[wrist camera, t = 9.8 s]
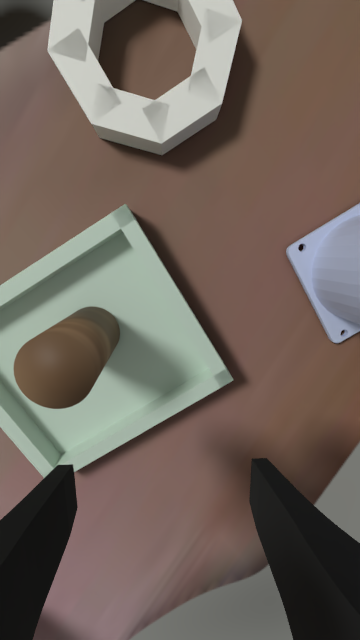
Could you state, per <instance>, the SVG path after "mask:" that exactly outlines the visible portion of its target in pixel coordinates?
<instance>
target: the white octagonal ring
mask: <svg viewBox="0 0 360 640" xmlns="http://www.w3.org/2000/svg"><path fill="white" fill-rule="evenodd" d="M134 1H135V0H54V2H53V10H52V18H51V26H50V34H49V42H48V50H47V51H48V53H49V54H50V56H51V58H52V59H53V61H54V63H55V65H56V66H57V68H58V70H59V71H60V73H61V75H62V76H63V78H64V80H65V81H66V83H67V84H68V86H69V88H70V89H71V91H72V93H73V94H74V96H75V98H76V99H77V101H78V103H79V104H80V106H81V108H82V109H83V111H84V113H85V114H86V116H87V118H88V119H89V121H90V123H91V124H92V126H93V128H94V129H95V131H96V133H97V134H98V136H99V138H102V139H106V140H109V141H113V142H116V143H120V144H123V145H127V146H131V147H134V148H138V149H141V150H145V151H148V152H152V153H156V154H159V155H163V154H165V153H166V152H168V151H169V150H171V149H172V148H174V147H175V146H177V145H178V144H180V143H182V142H183V141H185V140H186V139H188V138H189V137H191V136H192V135H194V134H195V133H197V132H198V131H200V130H201V129H203V128H204V127H206V126H207V125H209V124H210V123H212V122H213V121H215V120H216V119H217V116H218V114H219V111H220V108H221V105H222V102H223V97H224V93H225V89H226V85H227V81H228V77H229V72H230V68H231V64H232V60H233V56H234V52H235V48H236V43H237V39H238V35H239V31H240V27H241V23H242V20H241V17H240V15H239V13H238V11H237V9H236V6H235V4H234V2H233V0H143V1H147V2H150V3H153V4H156V5H159V6H162V7H165V8H168V9H171V10H174V11H177V12H178V14H179V16H180V18H181V20H182V22H183V24H184V26H185V28H186V30H187V32H188V34H189V36H190V38H191V40H192V42H193V44H194V46H195V48H196V55H195V59H194V64H193V69H192V73H191V76H190V77H189V78H187V79H186V80H184V81H183V82H181V83H180V84H178V85H177V86H175V87H174V88H172V89H171V90H169V91H168V92H167V93H165V94H164V95H162V96H161V97H159V98H158V99H156V100H152V99H148V98H145V97H142V96H138V95H135V94H132V93H128V92H125V91H121V90H118V89H115V88H113V87H112V85H111V83H110V82H109V80H108V78H107V76H106V75H105V73H104V71H103V69H102V68H101V66H100V64H99V62H98V59H99V53H100V46H101V40H102V34H103V27H104V23H105V22H106V21H107V20H109V19H110V18H112V17H113V16H114V15H116V14H117V13H119V12H120V11H121V10H123V9H124V8H126V7H127V6H128V5H130V4H131V3H133V2H134Z"/></svg>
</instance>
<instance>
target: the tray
mask: <svg viewBox="0 0 360 640" xmlns="http://www.w3.org/2000/svg"><path fill="white" fill-rule="evenodd" d="M90 306H94V307H100V308H103V309H105V310H107V311H108V312H110V313H111V314H112V315H113V316H114V317H115V319H116V320H117V322H118V325H119V328H120V338H119V342H118V344H117V346H116V347H115V349H114V351H113V353H112V354H111V356H110V358H109V360H108V361H107V363H106V365H105V367H104V368H103V370H102V372H101V374H100V375H99V377H98V379H97V381H96V382H95V384H94V386H93V388H92V389H91V391H90V393H89V394H88V395H87V397H86V398H85V399H84V400H82V401H81V402H80V403H78V404H76V405H74V406H72V407H69V408H64V409H51V408H46V407H43V406H40V405H38V404H36V403H34V402H32V401H31V400H30V399H28V398H27V397H26V396H25V395H24V394H23V393H22V391H21V390H20V389H19V387H18V385H17V383H16V380H15V377H14V361H15V358H16V355H17V353H18V351H19V350H20V348H21V347H22V346H23V345H24V344H25V343H26V342H28V341H29V340H31V339H32V338H34V337H36V336H37V335H39V334H40V333H42V332H44V331H45V330H47V329H49V328H50V327H52V326H53V325H55V324H57V323H58V322H60V321H62V320H63V319H65V318H66V317H68V316H70V315H71V314H73V313H75V312H76V311H78V310H80V309H82V308H84V307H90ZM232 381H233V378H232V376H231V374H230V372H229V371H228V369H227V367H226V365H225V364H224V362H223V360H222V359H221V357H220V355H219V354H218V352H217V350H216V349H215V347H214V346H213V344H212V342H211V341H210V339H209V337H208V336H207V334H206V333H205V331H204V329H203V328H202V326H201V324H200V323H199V321H198V319H197V318H196V316H195V315H194V313H193V311H192V310H191V308H190V306H189V305H188V303H187V301H186V300H185V298H184V297H183V295H182V293H181V292H180V290H179V288H178V287H177V285H176V283H175V282H174V280H173V279H172V277H171V275H170V274H169V272H168V270H167V269H166V267H165V265H164V264H163V262H162V261H161V259H160V257H159V256H158V254H157V252H156V251H155V249H154V248H153V246H152V244H151V243H150V241H149V239H148V238H147V236H146V234H145V233H144V231H143V230H142V228H141V226H140V225H139V223H138V221H137V220H136V218H135V216H134V215H133V213H132V212H131V210H130V209H129V207H128V206H127V205H126V204H124V205H123V206H121V207H120V208H118V209H117V210H115V211H114V212H112V213H111V214H109V215H108V216H106V217H105V218H103V219H101V220H100V221H98V222H97V223H95V224H94V225H92V226H91V227H89V228H88V229H86V230H85V231H83V232H82V233H80V234H78V235H77V236H75V237H74V238H72V239H71V240H69V241H68V242H66V243H65V244H63V245H62V246H60V247H59V248H57V249H55V250H54V251H52V252H51V253H49V254H48V255H46V256H45V257H43V258H42V259H40V260H39V261H37V262H36V263H34V264H32V265H31V266H29V267H28V268H26V269H25V270H23V271H22V272H20V273H19V274H17V275H16V276H14V277H12V278H11V279H9V280H8V281H6V282H5V283H3V284H2V285H0V427H1V428H2V429H3V431H4V432H5V433H6V434H7V435H8V436H9V438H10V439H11V440H12V441H13V442H14V443H15V445H16V446H17V447H18V448H19V449H20V450H21V452H22V453H23V454H24V455H25V456H26V457H27V458H28V460H29V461H30V462H31V463H32V464H33V465H34V467H35V468H36V469H37V470H38V471H39V472H40V474H41V475H42V476H43V477H44V478H45V477H46V476H47V475H48V474H49V473H50V472H51V471H52V470H53V469H54V468H55V467H56V466H57V465H69V464H73V468H74V472H75V471H77V470H79V469H80V468H82V467H84V466H86V465H87V464H89V463H91V462H93V461H94V460H96V459H98V458H100V457H101V456H103V455H105V454H106V453H108V452H110V451H112V450H113V449H115V448H117V447H119V446H120V445H122V444H124V443H126V442H127V441H129V440H131V439H133V438H134V437H136V436H138V435H139V434H141V433H143V432H145V431H146V430H148V429H150V428H152V427H153V426H155V425H157V424H159V423H160V422H162V421H164V420H166V419H167V418H169V417H171V416H172V415H174V414H176V413H178V412H179V411H181V410H183V409H185V408H186V407H188V406H190V405H192V404H193V403H195V402H197V401H199V400H200V399H202V398H204V397H206V396H207V395H209V394H211V393H212V392H214V391H216V390H218V389H219V388H221V387H223V386H225V385H226V384H228V383H230V382H232Z"/></svg>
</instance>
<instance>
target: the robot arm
mask: <svg viewBox="0 0 360 640" xmlns="http://www.w3.org/2000/svg"><path fill="white" fill-rule="evenodd" d="M300 244H302V245H303V250H302V251H299V249H298V247H299V245H300ZM286 254H287V257H288V259H289V261H290V263H291V265H292V267H293V269H294V271H295V273H296V275H297V276H298V278H299V280H300V282H301V284H302V286H303V288H304V290H305V292H306V294H307V296H308V298H309V300H310V302H311V304H312V306H313V308H314V310H315V312H316V314H317V316H318V318H319V320H320V322H321V324H322V326H323V328H324V330H325V332H326V334H327V336H328V338H329V339H330V341H332V342H334V343H340V342H342V341H343V340H345V339H347V338H349V337H350V336H352V335H354V334H356V333H357V332H359V331H360V203H359V204H357V205H356V206H354V207H352V208H351V209H349V210H347V211H346V212H344V213H342V214H341V215H339V216H337V217H336V218H334V219H333V220H331V221H329V222H328V223H326V224H324V225H323V226H321V227H319V228H318V229H316V230H314V231H313V232H311V233H309V234H308V235H306V236H305V237H303V238H301V239H300V240H298V241H296V242H295V243H293V244H291V245H290V246H289V247H288V248H287V250H286ZM342 330H344V331H345V332H344V334H343V335H341V331H342ZM250 505H251V509H252V514H253V518H254V522H255V526H256V529H257V532H258V535H259V538H260V541H261V543H262V546H263V549H264V552H265V555H266V557H267V560H268V563H269V566H270V568H271V571H272V574H273V577H274V579H275V582H276V585H277V588H278V590H279V593H280V596H281V599H282V602H283V605H284V608H285V611H286V614H287V618H288V622H289V625H290V629H291V632H292V636H293V640H360V543H358V542H357V541H356V540H354V539H353V538H352V537H351V536H349V535H348V534H347V533H346V532H344V531H343V530H341V529H340V528H339V527H338V526H337V525H335V524H334V523H333V522H332V521H331V520H329V519H328V518H327V517H326V516H325V515H324V514H323V513H321V512H320V511H319V510H318V509H317V508H316V507H315V506H314V505H313V504H311V503H310V502H309V501H308V500H307V499H306V498H305V497H304V496H303V495H302V494H301V493H300V492H299V491H298V490H297V489H296V488H295V487H294V486H293V485H292V484H291V483H290V482H289V481H288V480H287V479H286V478H285V477H284V476H283V475H282V474H281V473H280V472H279V471H278V469H277V468H276V467H275V466H274V465H273V464H272V463H271V462H270V461H269V460H268V459H267V458H260V459H252V466H251V484H250ZM76 511H77V498H76V488H75V478H74V468H73V464H69V465H57V466H56V467H55V468H54V469H53V470H52V471H51V472H50V473H49V474H48V475H47V476H46V477H45V478H44V479H43V480H42V481H41V482H40V483H39V484H38V485H37V486H36V487H35V488H34V489H33V490H32V491H31V492H30V493H29V494H28V495H27V496H26V497H25V498H24V499H23V500H22V501H21V502H20V503H19V504H17V505H16V506H15V507H14V508H13V509H12V510H11V511H10V512H9V513H8V514H7V515H6V516H4V517H3V518H2V519H1V520H0V640H32V639H33V636H34V633H35V629H36V626H37V623H38V620H39V617H40V614H41V611H42V608H43V606H44V603H45V601H46V598H47V595H48V593H49V590H50V587H51V585H52V582H53V580H54V577H55V574H56V572H57V569H58V567H59V564H60V561H61V559H62V556H63V553H64V551H65V548H66V545H67V543H68V540H69V537H70V534H71V530H72V526H73V523H74V519H75V515H76Z"/></svg>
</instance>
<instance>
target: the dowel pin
mask: <svg viewBox="0 0 360 640" xmlns="http://www.w3.org/2000/svg"><path fill="white" fill-rule="evenodd" d="M119 338H120V328H119V325H118V322H117V320H116V319H115V317H114V316H113V315H112V314H111V313H110V312H108V311H107V310H105V309H103V308H100V307H94V306H90V307H84V308H82V309H80V310H78V311H76V312H75V313H73V314H71V315H70V316H68V317H66V318H65V319H63V320H62V321H60V322H58V323H57V324H55V325H53V326H52V327H50V328H49V329H47V330H45V331H44V332H42V333H40V334H39V335H37V336H36V337H34V338H32V339H31V340H29V341H28V342H26V343H25V344H24V345H23V346H22V347H21V348H20V350H19V351H18V353H17V355H16V358H15V361H14V377H15V380H16V383H17V385H18V387H19V389H20V390H21V391H22V393H23V394H24V395H25V396H26V397H27V398H28V399H30V400H31V401H32V402H34V403H36V404H38V405H40V406H43V407H46V408H51V409H64V408H69V407H72V406H74V405H76V404H78V403H80V402H81V401H82V400H84V399H85V398H86V397H87V395H88V394H89V393H90V391H91V389H92V388H93V386H94V384H95V382H96V381H97V379H98V377H99V375H100V374H101V372H102V370H103V368H104V367H105V365H106V363H107V361H108V360H109V358H110V356H111V354H112V353H113V351H114V349H115V347H116V346H117V344H118V342H119Z"/></svg>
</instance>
